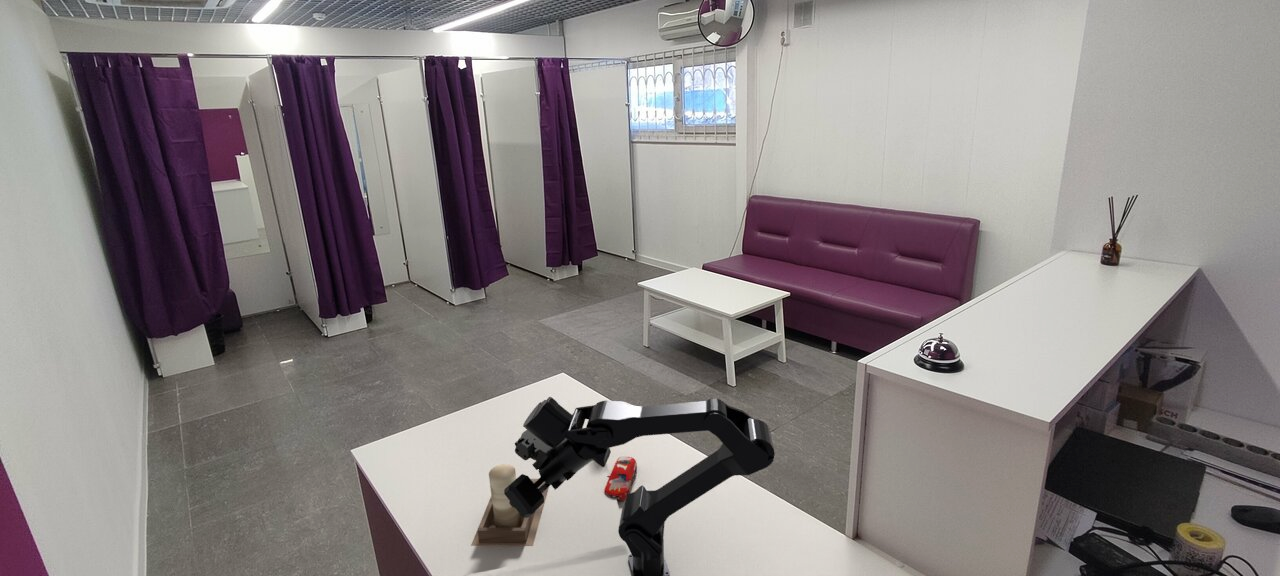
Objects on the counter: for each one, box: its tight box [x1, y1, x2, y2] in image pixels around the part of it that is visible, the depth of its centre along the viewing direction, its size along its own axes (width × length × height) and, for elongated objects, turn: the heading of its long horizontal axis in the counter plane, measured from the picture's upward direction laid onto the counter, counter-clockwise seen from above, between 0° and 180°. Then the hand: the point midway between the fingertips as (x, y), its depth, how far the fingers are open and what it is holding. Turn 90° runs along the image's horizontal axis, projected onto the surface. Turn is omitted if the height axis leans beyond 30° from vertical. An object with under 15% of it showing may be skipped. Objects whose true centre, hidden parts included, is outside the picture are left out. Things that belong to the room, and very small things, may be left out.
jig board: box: [470, 478, 550, 547], centre depth 121 cm, size 20×12×4 cm, turn 178°
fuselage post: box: [488, 463, 521, 528], centre depth 115 cm, size 5×5×13 cm
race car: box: [603, 456, 638, 502], centre depth 130 cm, size 13×5×4 cm, turn 166°
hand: (527, 489), depth 111 cm, fingers open, 9 cm apart
